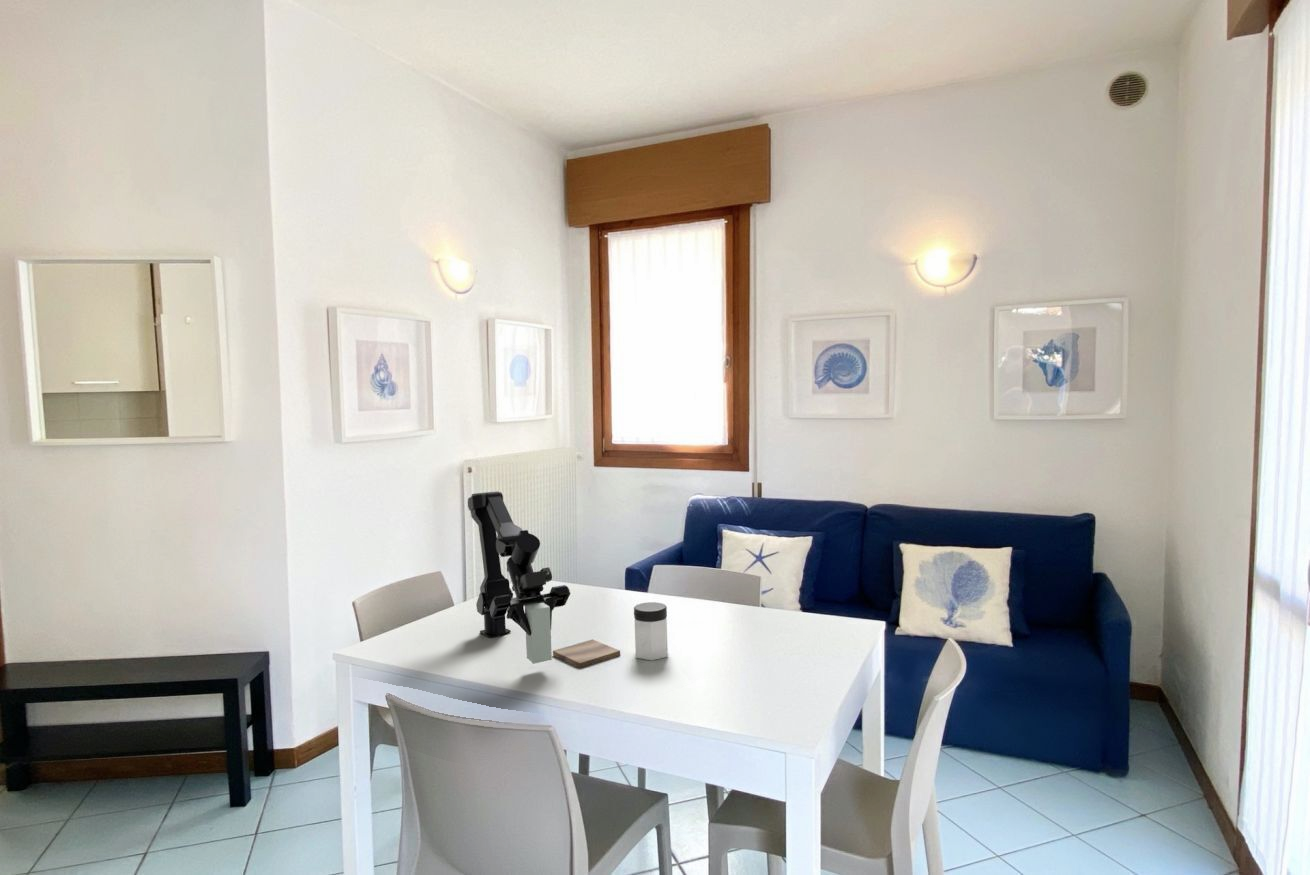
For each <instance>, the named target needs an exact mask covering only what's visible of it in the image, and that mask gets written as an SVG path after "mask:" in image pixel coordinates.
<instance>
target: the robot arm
mask: <svg viewBox="0 0 1310 875" xmlns="http://www.w3.org/2000/svg"><path fill="white" fill-rule="evenodd" d="M467 508H468V510H469V511H470V516H471V518H472V520H473V521H474V522H475V523H476V524H477V526H478V534H479V542H480V548H481V549H480V550H481V557H482V558H481V559H482V565H483V572H484V573H483V574H484V578H483V580H482V582H481V585H480V587H479V591H480V593H479V594H478V597H477V601H476V602H475V605H476V611H477V613H479V614H480V615H481V616H483V621H484V622H483V624H484V625H483V626H484V629H481V630H479V634H481V633H482V634H481V635H483V634H484V636H485V635H486V636H485V637H487V636H488V638H494V636H495V637H498V636H497V635H499V636H502V635H501V634H503V635H506V634H505V633H507V634H509V633H508V632H510V633H512V632H511V630H510V629H509V628H506V619H507V620H509V619H510V620H512V621H513V622H514V623H515V624H517V625H518V626H519V627H520V628H521V629H522V630H523V631H524V632H525V634H526V633H527V634H528V635H529V636H530V635H531V629H530V625H529V623H528V620H527V618H526V615H525V606H526V605H532V604H537V603H544V604H546V605H548V606H549V607H550V625H551V626H552V624H553V622H552V619H553V616H552V614H553V611H554V609H555V608H559V607H563V606H565V605H566V604H567V603H568V600H569V597H570V595H571V591H570V588H569V587H568V585H565V584H563V585H558V586H556V585H555V586H552V587H551V588H550V591H549V592H548V593H542V594H541V592H543V591H544V586H546V585H547V583H549V582H550V581H552V580H553V574H552V571H551V568H550V567H548V566H547V567H542V568H541V569H540V570H537V571H534V569H533V568H534V567H533V566H532V564H533V563H534V562H535V560H536V557H537V554H538V552H539V549H540V546H541V542H540V539H539V538H538V537H537V536H536V535H534V534H532V533H529V530H528V529H525V530H523V528H522V527H520V526H518V525H516V524H515V523H514V521H513V519H512V517H511V515H510V513H509V510H508V508H507V506H506V504H505V501H504V495H503V493H502V492H501V491H497V490H496V491H489V492H487V491H486V492H477V493H472V494H471V496H469V497H468V499H467ZM500 557H501V558H506V557H508V558H507V560H506V572H508V574H509V576H510V581H511V583H512V586H511V588H510V581H509V579H508V578H506V577H505V575H504V574H502V567H501V559H500ZM513 592H514V593H515V597H514V593H513Z"/></svg>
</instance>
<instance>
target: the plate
mask: <svg viewBox="0 0 1310 875" xmlns="http://www.w3.org/2000/svg"><path fill="white" fill-rule="evenodd" d="M552 655H553V657H555V658H558V659H560V660H562V661H564V662H566V663H569V664H571V665H573V666H575V667H577V668H580V669H582V668H585V667H588V666H592V665H595V664H597V663H600V662H603V661H607V660H610V659H613V658H616V657H620V656H621V649H620V650H619V649H617V648H614V647H613V646H610V645H607V644H605V643H603V642H600V641H598V640H594V639H589V640H585V641H582V642H579V643H575V644H571V645H568V646H565V647H561V648H557V649H554V650H552Z"/></svg>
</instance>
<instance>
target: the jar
mask: <svg viewBox="0 0 1310 875" xmlns="http://www.w3.org/2000/svg"><path fill="white" fill-rule="evenodd" d="M667 609H668V607H667V605H666V604H664V603H662V602H654V601H653V602H652V601H651V602H641V603H638V604H636V605H635V606H634V607H633V615H634V616H633V617H634V637H635V638H634V639H635V640H634V642H635V643H634V644H635V658H636V659H642V660H645V661H657V660H660V659H663V658H668V657H669V653H668V651H669V650H668V625H667V624H668V623H667V622H668V621H667V620H668V619H667V617H668V615H667V614H668V612H667V611H668V610H667Z"/></svg>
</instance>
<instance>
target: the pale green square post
mask: <svg viewBox="0 0 1310 875" xmlns="http://www.w3.org/2000/svg"><path fill="white" fill-rule="evenodd" d="M524 612H525V615H526V618H527V620H528V623H529V625H530V629H531V635H530V636H529V635H528V634H527V633H526V632H525V643H526V645H525V646H526V648H525V649H526V659H527V660H529V662H531V663H532V664H539V663H542V662H548V661H552V658H553V657H552V655H553V651H552V632H551V631H552V624H551V625H550V607H549V606H548V605H546V604H544V603H537V604H532V605H526V606H524Z"/></svg>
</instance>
